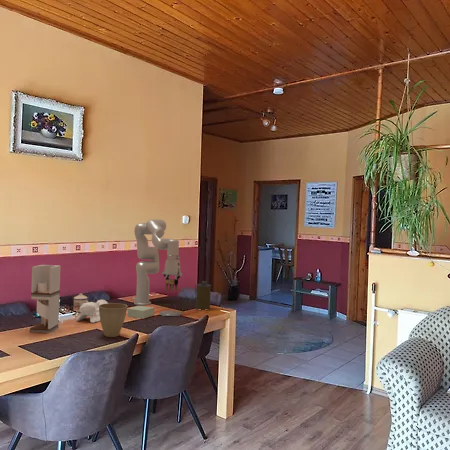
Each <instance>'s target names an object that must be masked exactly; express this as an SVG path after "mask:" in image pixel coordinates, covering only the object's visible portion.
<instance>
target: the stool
mask: <svg viewBox="0 0 450 450" xmlns="http://www.w3.org/2000/svg"><path fill="white" fill-rule="evenodd" d="M174 284H175V278H174V279H173V278H169V279H168V280H166V279H165V291H166V292H167V291H168V290H169V291H170V290H171V292H174V291H178V285H176V286H175V285H174Z"/></svg>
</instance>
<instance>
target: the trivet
mask: <svg viewBox="0 0 450 450" xmlns="http://www.w3.org/2000/svg"><path fill="white" fill-rule="evenodd" d="M158 315H159V316H160V315H162V316H161V317H164V316H178V317H180V315H181V316H182V315H183V313H182V311H178V310H162V311H159V313H158Z"/></svg>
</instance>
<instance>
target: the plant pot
mask: <svg viewBox="0 0 450 450" xmlns="http://www.w3.org/2000/svg"><path fill="white" fill-rule="evenodd" d="M127 312H128V305H127V304H126V303H125V304H124V303H116V302H107V304H101V305H99V314H100V320H101V321H100V325H101V328H102V332H103V334H104V336H105V337H107V338H115V337H119V335H120V333H121V331H122V329H123V325H124V322H125V318H126V315H127Z"/></svg>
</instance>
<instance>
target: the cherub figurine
mask: <svg viewBox="0 0 450 450" xmlns="http://www.w3.org/2000/svg"><path fill="white" fill-rule="evenodd" d="M88 302H89V303H84V304H83V305H82V306H80V308H79V312H78V313H80V314H79V315H78V316H77V317H76V318H75V321H76V322H79V321H82V320H85V319H86V318H87V317H89V321H90V323H91V324H94V323H99V322H101V320H100V314H99V305H101V304H107V303H108V301H106V300H105V299H99V300H97V301H96V302H93V301H88Z"/></svg>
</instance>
